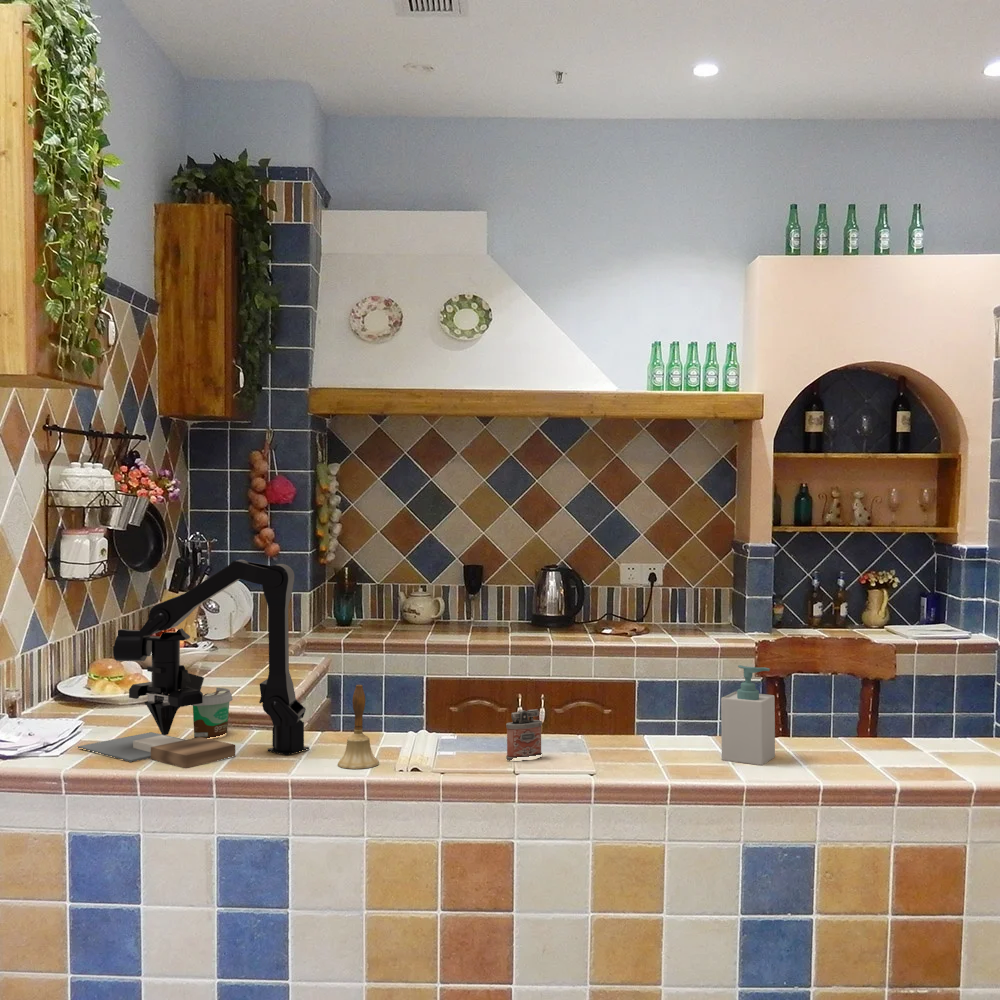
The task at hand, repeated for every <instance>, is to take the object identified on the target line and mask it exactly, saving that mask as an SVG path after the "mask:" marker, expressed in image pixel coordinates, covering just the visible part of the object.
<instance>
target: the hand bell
mask: <svg viewBox="0 0 1000 1000" xmlns="http://www.w3.org/2000/svg"><path fill="white" fill-rule="evenodd" d="M365 707H366V694H365V690H364V688H363V684H356V685H355V688H354V691H353V695H352V710H353V714H354V727H353V734H352V735H350V736H349V737H347V738H346V739H347V740H346V746H345V751H344V753H343V756H342V757H341V759H340V760H338V762H337V766H338V767H339V768H343V769H351V770H356V769H357V770H362V769H370V768H374V767H376V766H379V764H380V762H379V760H378V758H377V757H376V756H375V755H374V754H373V751H372V748H371V743H370V741H371V740H370V737H369V736H368V735H366V734H364V733H363V726H364V724H363V717H364V711H365Z"/></svg>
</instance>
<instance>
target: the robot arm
mask: <svg viewBox="0 0 1000 1000" xmlns="http://www.w3.org/2000/svg"><path fill="white" fill-rule="evenodd" d="M239 580H242V581H246V582H249V583H252V584H256V585H260V586H262V591H263V596H264V598H265V599H264V600H265V602H266V604H267V608H268V615H267V617H268V676H267V679H264V680H263V681H262V682H260V683H259V690H260V698H259V704H261V703H262V709H263V712H264V713H265V714H267V715H268V716H269V718H270V719H271V722H272V725H273V727H272V736H271V737H272V745H271V746H272V747H269V748H267V752H270V751H271V753H274V752H275V753H276V754H279V753H280V754H279V755H283V754H285V755H284V756H289V755H288V754H290V755H293V754H292V753H294V754H297V753H296V752H298V753H300V752H299V751H302V750H306V749H309V750H310V747H309V746H305V722H304V721H302V720H301V719H303V718H304V716H305V713H306V706H305V707H304V705H303V704H301V702H300V701H299V700H297V698H296V692H295V687H294V682H293V679H292V677H291V673H290V659H289V658H290V657H289V656H290V655H289V653H290V652H289V651H290V648H289V647H290V646H289V645H290V644H289V643H290V642H289V641H290V639H289V634H290V632H289V606H290V602H291V598H292V595H293V594H292V593H293V590H294V583H295V572H294V570H293V569H292V568H291V567H290V566H289V565H287V564H285V563H277V564H273V565H268V564H263V563H256V562H252V561H247V560H244V559H237V560H236V559H235V560H234V561H231V562H230V563H229V564H228V565H227V566H226V567H224V568H222V569H221V570H219V571H218V572H216V573H215V574H213V575H211V576H210V577H208V578H207V579H205V580H203V581H202V582H201V583H199V584H197V585H195V586H194V587H192V588H191V589H189V590H188V591H186V592H185V593H182V594H180V595H177V596H175V597H171V598H169V599H167V600H164V601H162V602H160V603H157V604H155V605H154V606H152V607H151V608H150V610H149V612H148V613H149V614H148V620H147V621H146V622H145V623H144V625H143V626H142V628H140V629H129V628H121V629H118V630H117V636H116V638H115V641H114V645H113V647H112V653H113V654H112V655H113V657H114V660H115V661H116V662H145V661H146V660H147V658H148V657H150V656H151V665H150V666H146V667H147V672H150V673H151V681H147V682H140V683H134V684H132V685H131V686H130V687H129V688H128V698H129V699H134V700H138V699H139V698H140V697H143V696H147V700H146V701H144V705H145V706H146V707H147V709H148V711H149V712H150V714H151V715H152V717H153V719H154V722H155V723H156V725H157V727H158V730H159V731H160V734H162V735H167V736H169V734H170V731H171V728H172V724H173V723H174V719H175V717H176V714H177V712H178V710H179V709H180V708H183V707H190V706H191V705H195V704H201V703H203V695H204V693H203V692H202V686H203V683H204V679H205V677H203V676H201V675H196V674H193V673H189V672H188V669H186V667H185V665H183V664H181V662H180V661H181V660H180V659H181V658H180V657H181V652H180V650H181V645H180V644H181V641H182V642H183V641H184V642H185V641H186V640H189V639H190V638H191V636H190V635H189V634H188V633H187V632H186V631H185V630H184V628H179V629H177V630H176V631H167V630H171V629H172V628H175V627H176V628H177V627H178V626H179V625H180V624H182V623H183V622H184V621H185V620H186V619H187V618H188V617H190V615H191V614H192V613H193V612H194V610H196V609H197V608H198V607H199V606H201V605H202V604H204V603H205V602H207V601H208V600H210V599H212V598H213V597H215V596H216V595H217V594H219V593H221V592H223V591H224V590H226V589H227V588H229V587H230V586H232V585H233V584H235V583H236V582H239ZM160 632H162V633H161V634H160V636H152V635H154V634H157V633H160ZM306 751H307V750H306ZM302 752H303V751H302Z"/></svg>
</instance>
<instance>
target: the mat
mask: <svg viewBox="0 0 1000 1000" xmlns="http://www.w3.org/2000/svg"><path fill="white" fill-rule="evenodd" d="M160 735H162V734H161V733H157V732H152V731H150V732H145V733H139V734H134V735H130V736H129V735H128V736H124V737H119V738H113V739H109V740H104V741H99V742H93V743H88V744H82V745H77V747H78V748H83V749H86V750H90V751H94V752H98V753H101V754H104V755H108V756H112V757H115V758H119V759H123V760H125V761H124V762H127V761H129V762H128V763H133V762H132V761H135V762H138V761H137V760H139V761H143V760H142V759H144V760H148V759H151V752H148V751H144V750H140V749H136V748H133V741H135V740H140V739H145V738H150V737H155V736H160ZM163 736H168V737H172V738H177V739H181V740H186V739H184V738H180V737H176V736H171V735H163ZM104 755H103V756H104ZM108 756H107V757H108ZM112 757H111V758H112ZM115 758H114V759H115ZM147 758H148V759H147ZM119 759H118V760H119ZM123 760H122V761H123Z"/></svg>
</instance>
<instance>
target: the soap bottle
mask: <svg viewBox="0 0 1000 1000" xmlns="http://www.w3.org/2000/svg"><path fill="white" fill-rule="evenodd" d="M737 667H738V668H740V669H743V678H744V681H743V682H741V683H740V688H737V690H736V691H733V692H731V693H729V694H727V695H725V696H722V697H721V699H720V700H721V702H720V706H721V707H720V708H721V718H720V719H721V761H727V762H733V763H742V764H749V765H756V766H764V765H765V764H767V763H768V762H769V761H771V760H773V759H774V758H776V732H775V731H776V729H775V728H776V727H775V726H776V722H775V721H776V720H775V719H776V718H775V717H776V716H775V715H776V714H775V710H776V709H775V705H776V703H775V702H776V701H775V695H773V694H767V693H766V694H765V693H760V691H759V689H757V688H756V683H754V682H752V678H753V674H754V673H760V672H770V670H771V668H769V667H757V666H745V665H738V666H737Z"/></svg>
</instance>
